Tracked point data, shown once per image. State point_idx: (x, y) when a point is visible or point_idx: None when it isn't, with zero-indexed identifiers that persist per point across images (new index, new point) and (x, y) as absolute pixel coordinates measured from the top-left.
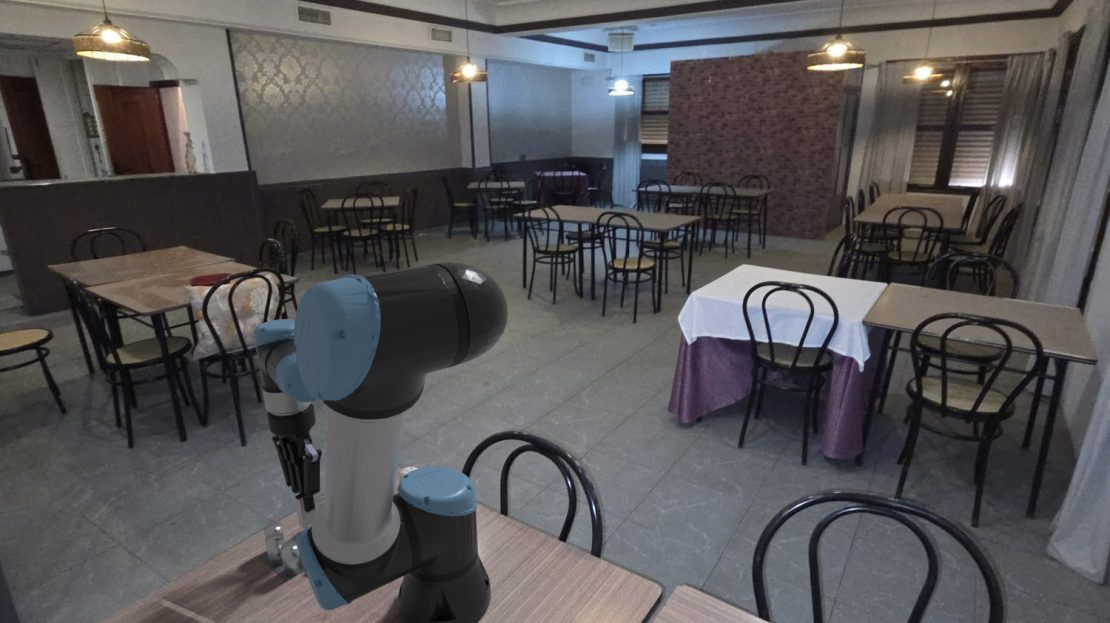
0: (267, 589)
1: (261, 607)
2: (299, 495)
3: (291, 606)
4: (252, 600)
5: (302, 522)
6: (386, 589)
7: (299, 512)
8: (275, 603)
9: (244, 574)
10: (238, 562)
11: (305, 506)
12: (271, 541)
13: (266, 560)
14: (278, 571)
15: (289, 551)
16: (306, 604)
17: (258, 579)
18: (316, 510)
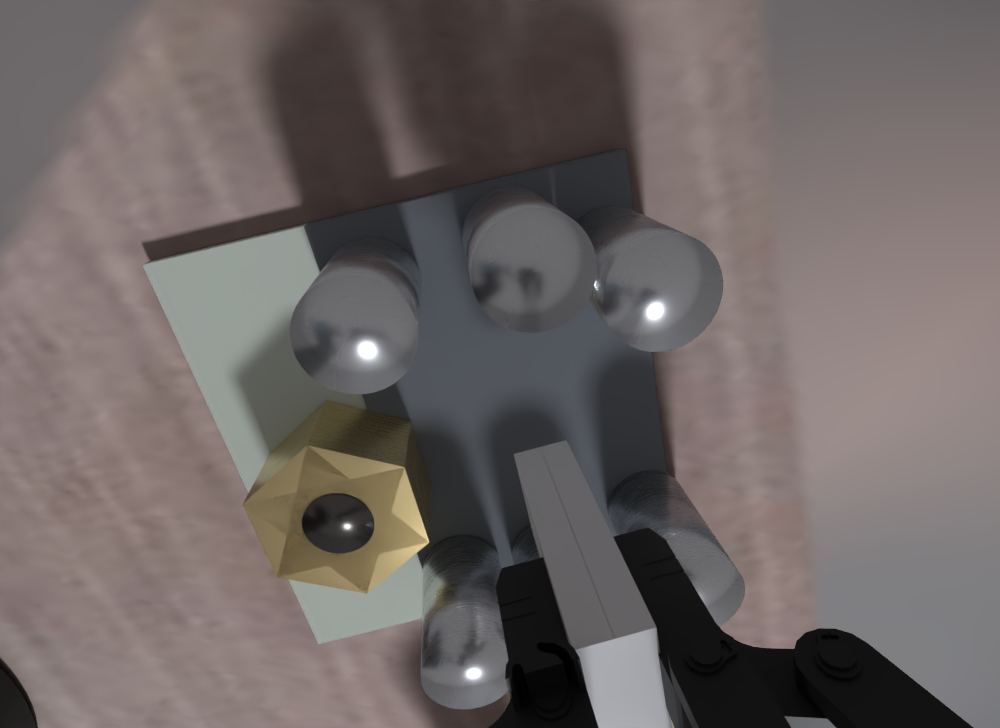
0: (328, 122)
1: (187, 49)
2: (550, 689)
3: (108, 196)
4: (280, 19)
5: (528, 476)
6: (13, 578)
7: (566, 516)
8: (180, 128)
9: (548, 41)
10: (682, 39)
11: (534, 597)
12: (505, 245)
13: (561, 181)
14: (419, 213)
15: (301, 321)
16: (85, 265)
17: (449, 101)
18: (678, 536)
